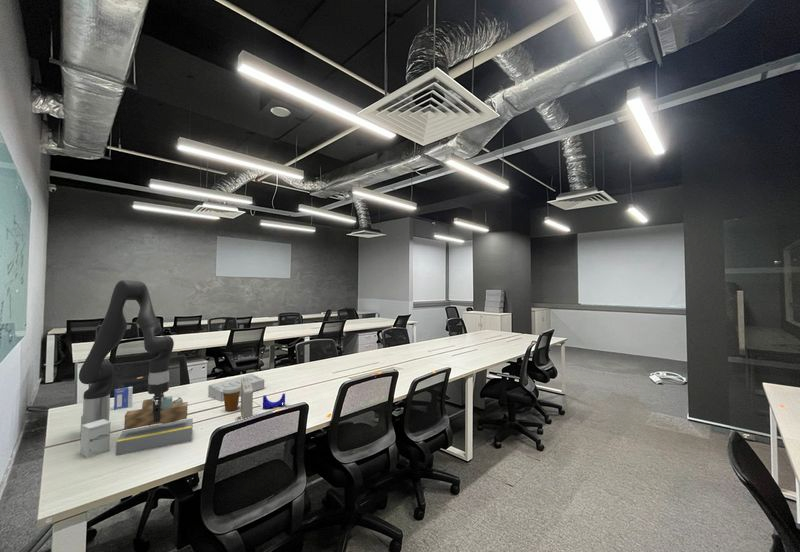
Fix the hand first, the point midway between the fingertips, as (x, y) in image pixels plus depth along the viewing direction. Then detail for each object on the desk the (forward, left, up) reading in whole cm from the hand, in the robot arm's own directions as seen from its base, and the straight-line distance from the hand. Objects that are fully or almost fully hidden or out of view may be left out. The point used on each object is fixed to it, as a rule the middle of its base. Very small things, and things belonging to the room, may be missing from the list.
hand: (157, 419), depth 143 cm
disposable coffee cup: (+31, +28, -11) cm, 43 cm away
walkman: (-22, +59, -11) cm, 64 cm away
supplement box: (-21, +2, -11) cm, 24 cm away
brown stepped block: (0, 0, -1) cm, 1 cm away
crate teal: (+3, 0, +5) cm, 6 cm away
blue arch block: (+53, +20, -11) cm, 58 cm away
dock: (0, 0, -10) cm, 10 cm away
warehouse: (+36, +59, -11) cm, 70 cm away
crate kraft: (-3, 0, +5) cm, 6 cm away
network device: (+36, +3, -11) cm, 38 cm away
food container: (+4, +25, -11) cm, 27 cm away
